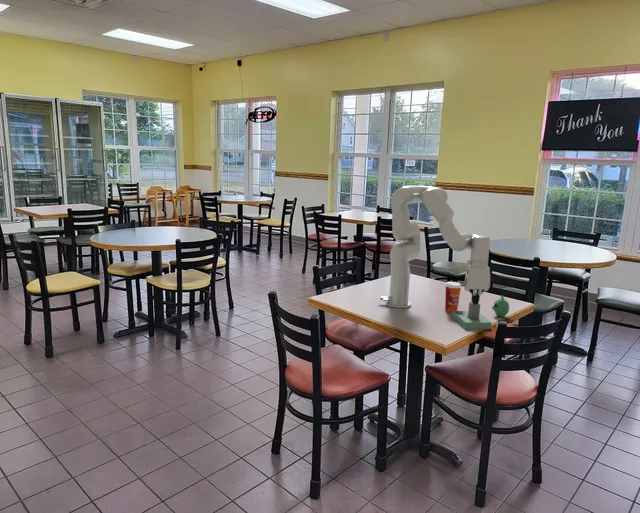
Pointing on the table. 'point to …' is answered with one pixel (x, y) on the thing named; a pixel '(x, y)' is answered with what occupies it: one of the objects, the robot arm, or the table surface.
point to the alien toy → (501, 307)
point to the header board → (471, 321)
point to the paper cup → (452, 296)
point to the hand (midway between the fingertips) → (475, 303)
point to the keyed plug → (473, 311)
